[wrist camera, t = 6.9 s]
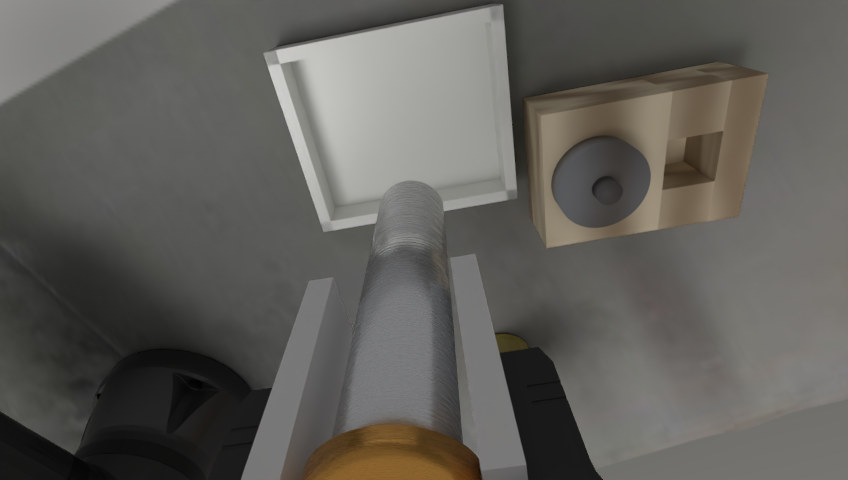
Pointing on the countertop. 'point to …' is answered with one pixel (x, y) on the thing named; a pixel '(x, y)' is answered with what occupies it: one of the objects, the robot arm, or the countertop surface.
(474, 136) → the tray
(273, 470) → the robot arm
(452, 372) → the pin
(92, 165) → the countertop surface
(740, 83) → the wooden socket block
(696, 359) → the countertop surface
